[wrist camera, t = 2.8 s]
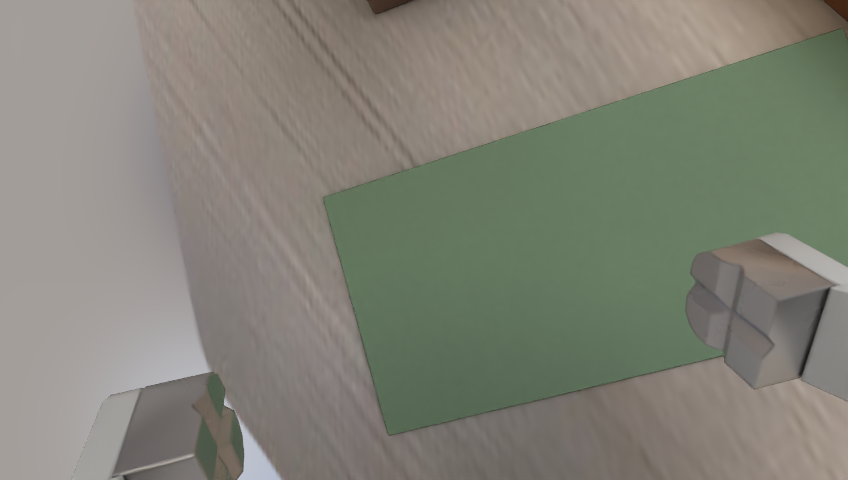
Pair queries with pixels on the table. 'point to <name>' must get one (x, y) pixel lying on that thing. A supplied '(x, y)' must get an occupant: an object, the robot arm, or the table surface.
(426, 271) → the mat
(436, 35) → the table surface
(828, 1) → the diary
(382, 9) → the stand
